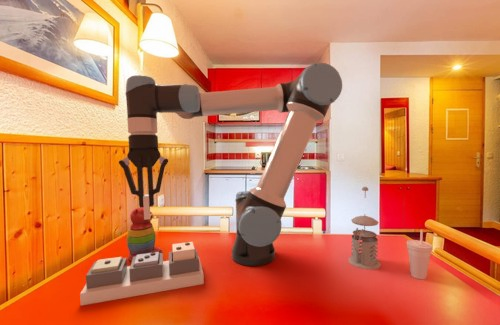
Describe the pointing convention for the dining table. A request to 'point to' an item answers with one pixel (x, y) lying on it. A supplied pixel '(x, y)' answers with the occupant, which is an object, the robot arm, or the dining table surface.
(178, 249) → the button two dot
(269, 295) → the dining table surface
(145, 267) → the button panel
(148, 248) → the stacking bear
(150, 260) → the button three dot
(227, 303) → the dining table surface
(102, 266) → the button one dot
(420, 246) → the smoothie
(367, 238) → the french press
